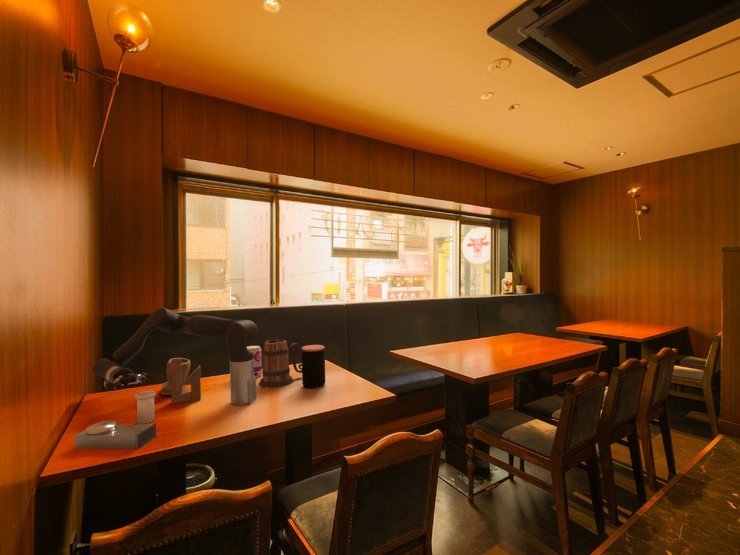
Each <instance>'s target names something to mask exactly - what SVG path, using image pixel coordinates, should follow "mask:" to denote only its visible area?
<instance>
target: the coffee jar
mask: <svg viewBox="0 0 740 555" xmlns="http://www.w3.org/2000/svg"><path fill="white" fill-rule="evenodd" d="M325 348H326V347H325V346H324V345H322V344H311V345H310V344H309V345H304V346H301V351H302V352H301V364H302V366H301V368H302V373H301V377H302V379H301V380H302V381H301V382H302V383H301V384H302V386H303V387H304V388H305V389H308V390H309V389H311V390H313V389H319V388H322V387H324V386H325V384H326V355H325V354H326V351H325Z"/></svg>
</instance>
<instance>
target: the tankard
mask: <svg viewBox="0 0 740 555" xmlns="http://www.w3.org/2000/svg"><path fill="white" fill-rule="evenodd" d="M295 346H296V347H295ZM295 348H296V349H295ZM294 350H295V351H294ZM289 352H290V353H292V354H293V356H292V366H293V369H294V371H295V372H296V373H299V374H302V363H299V364H298V367H297V356H298V354H299V352H300V345H299V343H297V342H293V343H291V344H290V345H289V347H288V342H287V340H286V339H269V340H267V341H265V342H264V345H263V349H262V354H263V355H262V356H263V357H262V358H263V360H262V374H261V375H262V377H261V379H260V381H259V382H258V386H259V387H261V386H262V387H261V388H265V387H268V388H269V389H274V388H275V389H276V387H277V388H282V387H283V386H284V387H287V386H291V385H292V384H293V383H294V382H295V380H294V378H293V377H292V375H290V374H291V368H290V360H289ZM284 387H283V388H284ZM268 388H267V389H268Z"/></svg>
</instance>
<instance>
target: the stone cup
mask: <svg viewBox="0 0 740 555" xmlns="http://www.w3.org/2000/svg"><path fill="white" fill-rule="evenodd" d="M175 358H176V357H174V358H170V359H169V360H168V361H167V364H166V371H165V372H166V373H165V374H166V378H167V381H166V382H163V383H162V385H161V388H160V389H161V390H160V392H161V395H163V396H172V367H171V360H172V359H175ZM179 358H180V359H181V371H182V383H183V382H184V381H185V380H186V379H187V378H188V376H189V372H190V371H191V370H190V369H191V363H192V362H191V360H190V359H188V358H184V357H179ZM186 391H187V385H184V386H182V392H186Z"/></svg>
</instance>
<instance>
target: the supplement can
mask: <svg viewBox="0 0 740 555" xmlns="http://www.w3.org/2000/svg"><path fill="white" fill-rule="evenodd" d="M261 348H262V347H261V346H260V345H249V346H248V345H247V350H249V351H252V352H253V354H254V376H256V378H259V377H261V375H263V374H262V370H263V367H262V349H261Z"/></svg>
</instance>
